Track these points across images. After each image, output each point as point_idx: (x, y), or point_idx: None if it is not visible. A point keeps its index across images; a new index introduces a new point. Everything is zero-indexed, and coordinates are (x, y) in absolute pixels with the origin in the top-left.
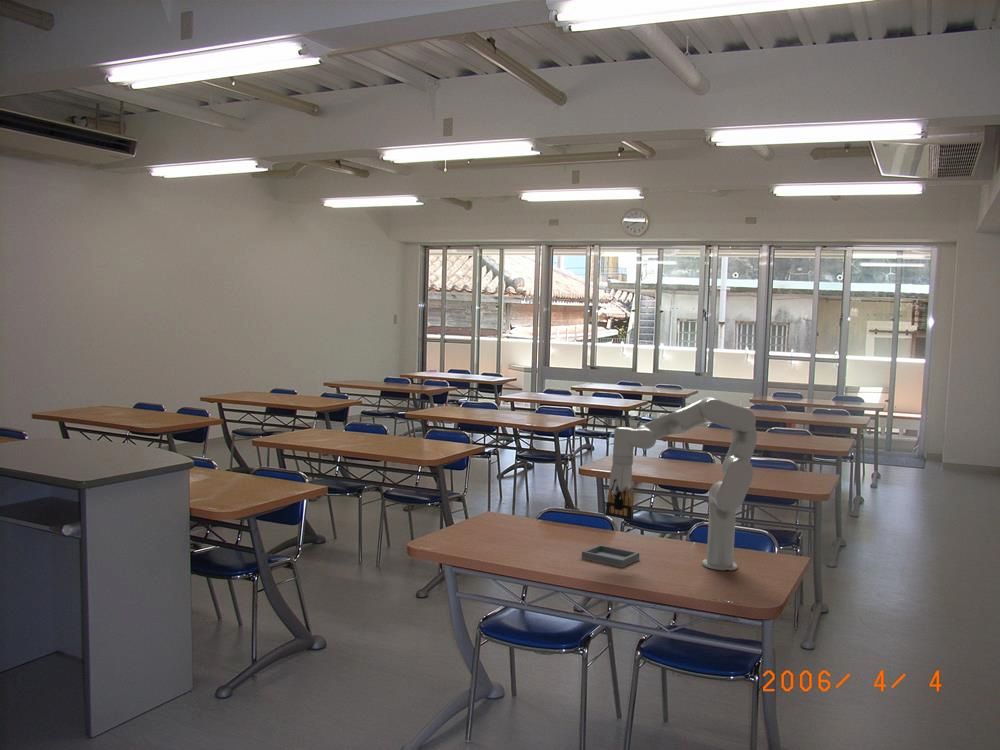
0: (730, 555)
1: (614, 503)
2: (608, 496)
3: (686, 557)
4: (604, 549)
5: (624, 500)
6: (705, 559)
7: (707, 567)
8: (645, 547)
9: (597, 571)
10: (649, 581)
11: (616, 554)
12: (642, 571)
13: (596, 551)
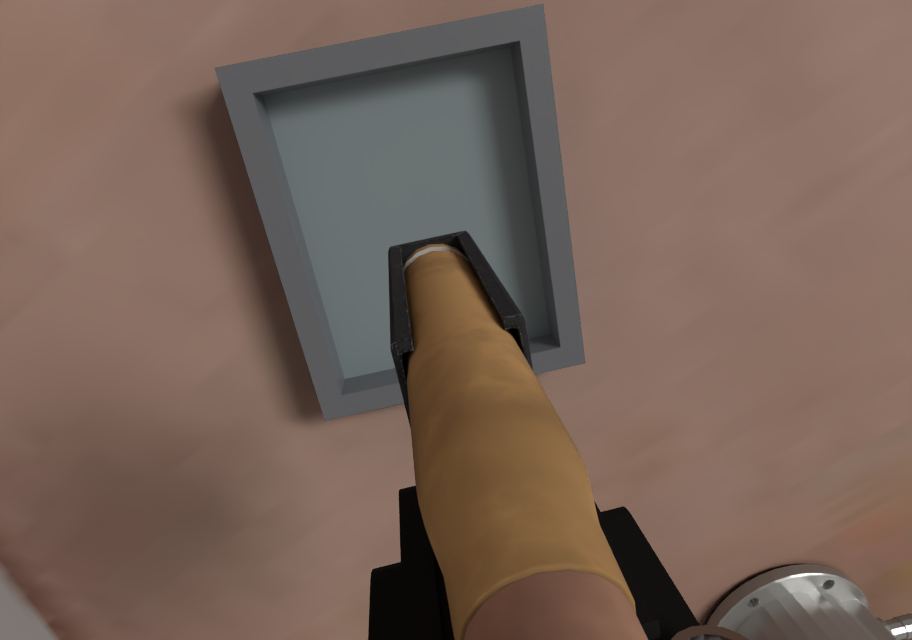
0: None
1: (404, 565)
2: (418, 470)
3: (823, 462)
4: (520, 82)
5: None
6: (804, 578)
7: (707, 623)
8: (881, 175)
9: (108, 368)
10: (256, 623)
11: (523, 200)
12: (372, 504)
13: (438, 60)
